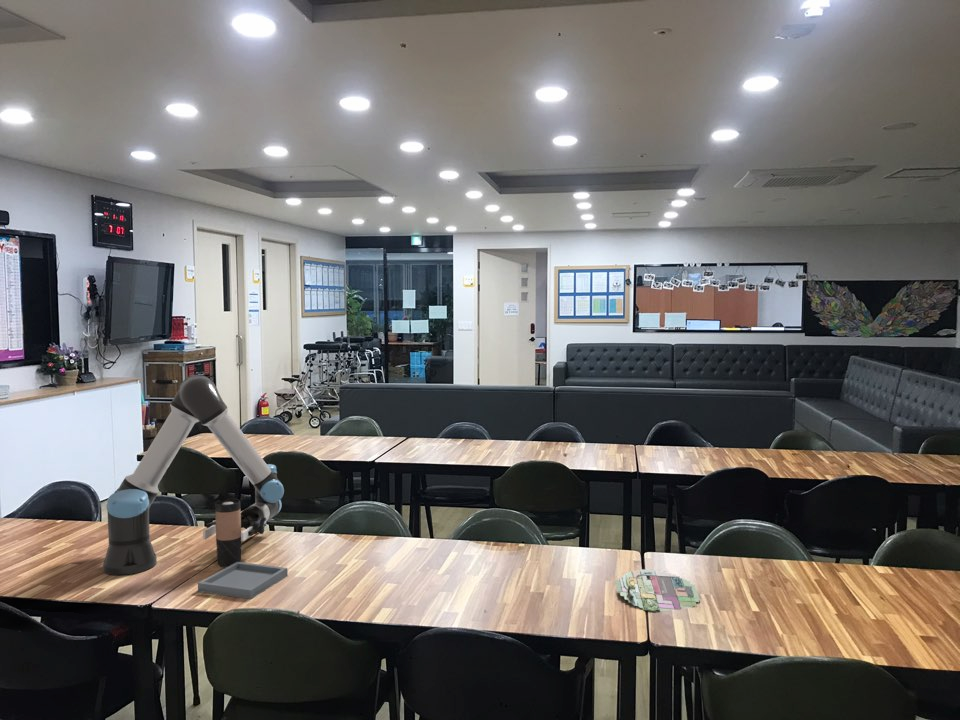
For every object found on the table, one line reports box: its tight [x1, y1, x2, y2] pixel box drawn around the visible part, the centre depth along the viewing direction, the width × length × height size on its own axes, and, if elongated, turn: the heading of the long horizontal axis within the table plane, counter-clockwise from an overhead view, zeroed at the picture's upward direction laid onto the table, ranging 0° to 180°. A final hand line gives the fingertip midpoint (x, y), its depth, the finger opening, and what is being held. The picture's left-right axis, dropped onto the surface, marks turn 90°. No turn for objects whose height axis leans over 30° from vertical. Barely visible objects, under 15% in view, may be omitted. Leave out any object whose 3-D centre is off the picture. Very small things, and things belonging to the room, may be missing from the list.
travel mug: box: [214, 498, 242, 568], centre depth 225 cm, size 8×8×20 cm
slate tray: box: [197, 561, 289, 600], centre depth 208 cm, size 18×18×2 cm
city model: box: [615, 569, 701, 613], centre depth 198 cm, size 25×23×6 cm
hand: (223, 536), depth 221 cm, fingers open, 12 cm apart
